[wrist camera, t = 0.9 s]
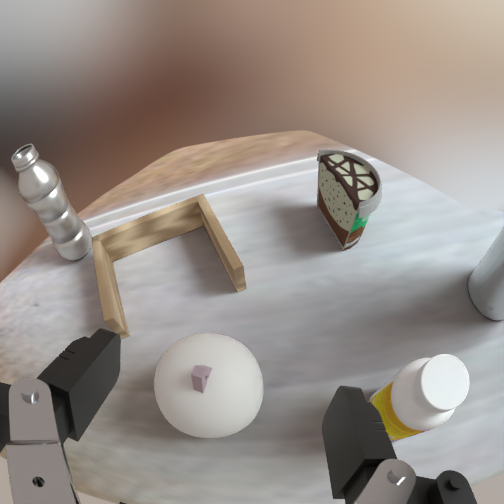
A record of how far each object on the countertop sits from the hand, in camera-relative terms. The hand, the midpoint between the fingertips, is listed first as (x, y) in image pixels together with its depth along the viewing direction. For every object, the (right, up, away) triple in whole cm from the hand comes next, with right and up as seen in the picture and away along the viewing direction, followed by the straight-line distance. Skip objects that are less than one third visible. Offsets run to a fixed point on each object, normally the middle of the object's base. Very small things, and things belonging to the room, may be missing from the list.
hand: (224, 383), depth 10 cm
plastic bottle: (-27, +5, +36) cm, 46 cm away
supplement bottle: (+16, -13, +19) cm, 28 cm away
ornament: (-3, -11, +22) cm, 25 cm away
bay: (-10, +1, +32) cm, 34 cm away
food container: (+15, +9, +36) cm, 41 cm away
